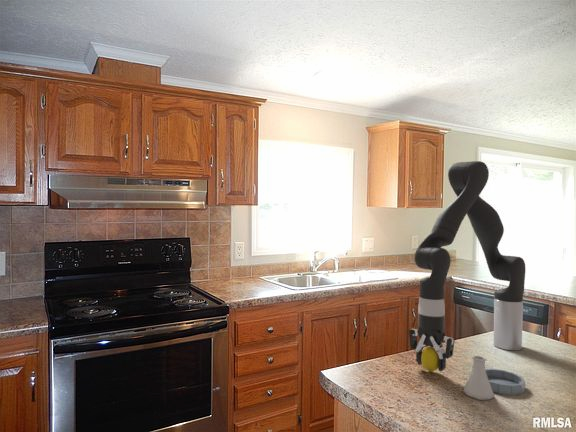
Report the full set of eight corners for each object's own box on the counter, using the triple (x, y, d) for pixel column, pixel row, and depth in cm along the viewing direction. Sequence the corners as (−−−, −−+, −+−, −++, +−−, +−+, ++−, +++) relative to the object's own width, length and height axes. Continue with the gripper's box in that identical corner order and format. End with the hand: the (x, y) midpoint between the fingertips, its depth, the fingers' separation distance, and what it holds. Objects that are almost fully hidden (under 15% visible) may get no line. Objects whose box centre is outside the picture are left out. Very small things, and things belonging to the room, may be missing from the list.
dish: (487, 374, 124) (487, 365, 124) (530, 386, 115) (530, 377, 115) (471, 384, 116) (471, 376, 116) (515, 398, 107) (515, 389, 107)
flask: (479, 402, 105) (480, 364, 105) (457, 391, 111) (458, 354, 111) (499, 398, 108) (500, 360, 108) (477, 387, 114) (477, 351, 114)
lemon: (417, 370, 126) (417, 344, 126) (431, 367, 128) (431, 342, 128) (429, 377, 121) (430, 350, 121) (444, 374, 123) (444, 347, 123)
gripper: (460, 314, 122) (459, 370, 122) (416, 306, 132) (415, 358, 132) (448, 319, 116) (447, 377, 117) (403, 310, 127) (402, 363, 127)
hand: (430, 366), depth 124 cm, fingers open, 6 cm apart
